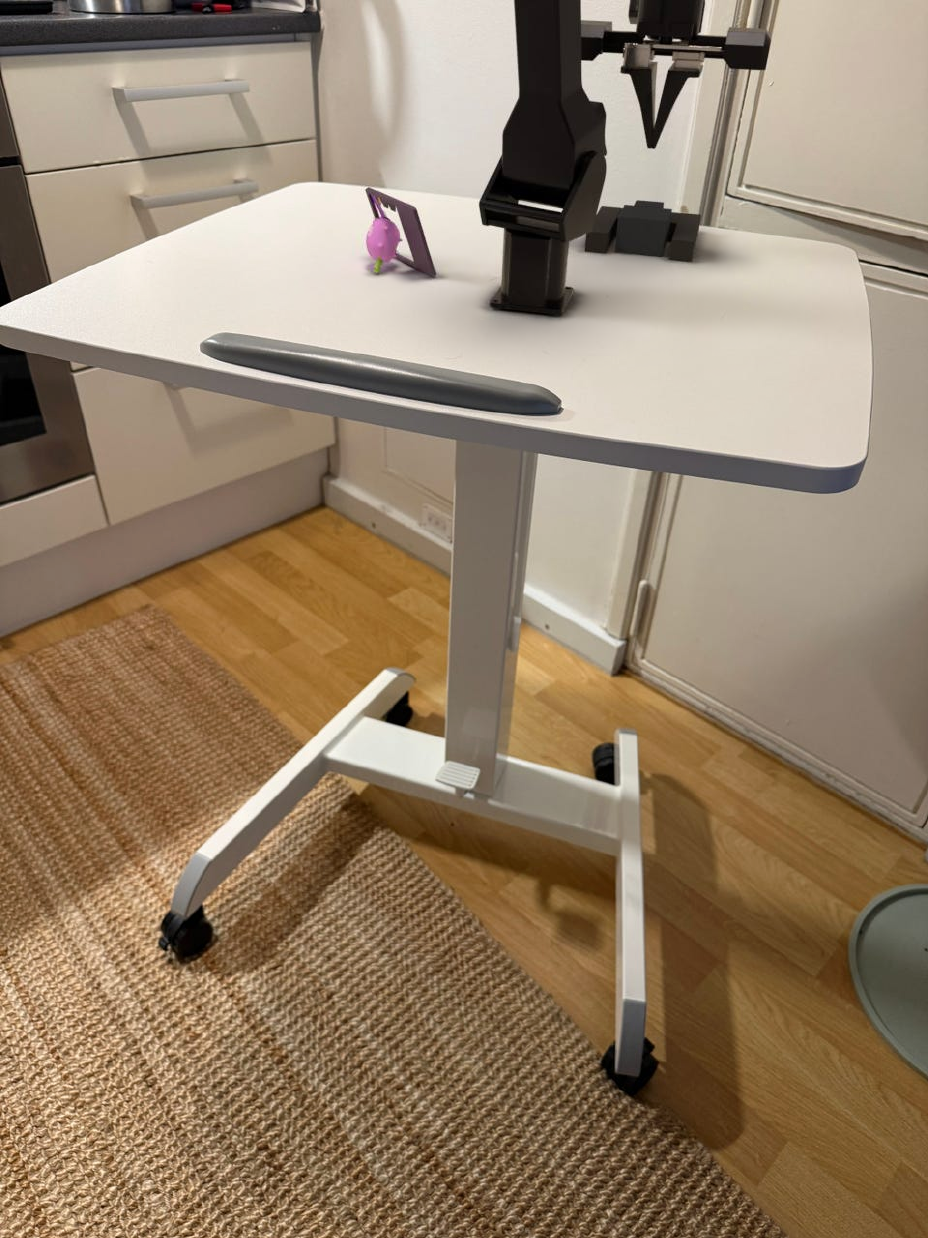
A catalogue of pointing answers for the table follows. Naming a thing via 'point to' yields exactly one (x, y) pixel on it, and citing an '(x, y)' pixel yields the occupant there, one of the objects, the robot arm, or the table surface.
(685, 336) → the table surface
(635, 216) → the pad piece
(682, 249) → the base pad
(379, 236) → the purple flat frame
